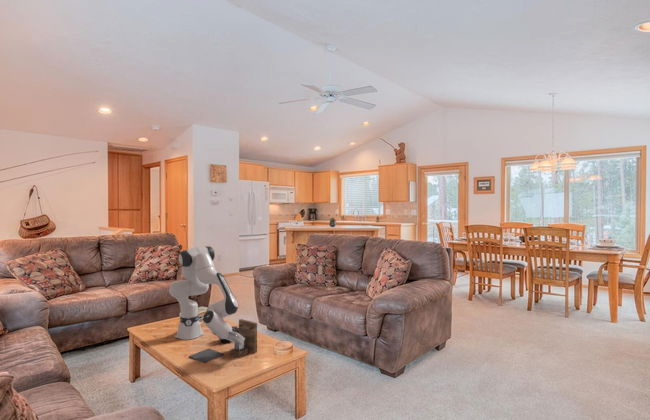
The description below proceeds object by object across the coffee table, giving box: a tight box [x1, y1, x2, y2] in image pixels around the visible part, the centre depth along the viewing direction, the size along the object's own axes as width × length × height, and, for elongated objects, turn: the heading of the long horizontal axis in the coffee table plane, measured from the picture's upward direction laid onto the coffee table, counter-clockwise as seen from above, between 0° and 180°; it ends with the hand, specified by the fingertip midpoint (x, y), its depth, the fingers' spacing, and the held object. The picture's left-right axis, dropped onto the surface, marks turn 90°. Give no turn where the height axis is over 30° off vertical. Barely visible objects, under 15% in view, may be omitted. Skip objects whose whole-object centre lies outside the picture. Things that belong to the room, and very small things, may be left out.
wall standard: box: [230, 318, 258, 358], centre depth 223 cm, size 12×14×18 cm
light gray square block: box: [233, 342, 244, 351], centre depth 221 cm, size 4×4×10 cm
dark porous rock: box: [218, 325, 239, 344], centre depth 245 cm, size 10×18×10 cm, turn 139°
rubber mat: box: [188, 347, 224, 364], centre depth 218 cm, size 14×14×1 cm
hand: (237, 342), depth 220 cm, fingers open, 8 cm apart
